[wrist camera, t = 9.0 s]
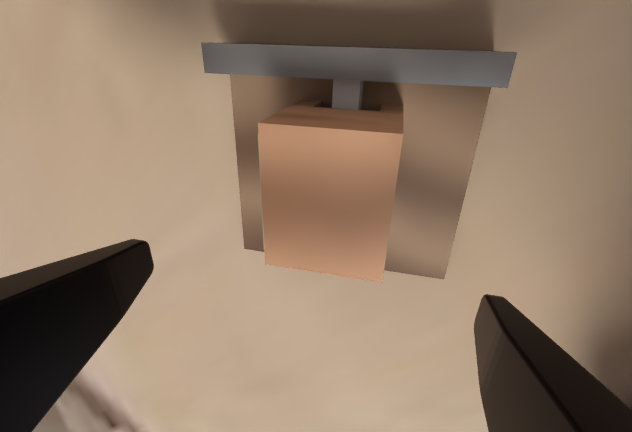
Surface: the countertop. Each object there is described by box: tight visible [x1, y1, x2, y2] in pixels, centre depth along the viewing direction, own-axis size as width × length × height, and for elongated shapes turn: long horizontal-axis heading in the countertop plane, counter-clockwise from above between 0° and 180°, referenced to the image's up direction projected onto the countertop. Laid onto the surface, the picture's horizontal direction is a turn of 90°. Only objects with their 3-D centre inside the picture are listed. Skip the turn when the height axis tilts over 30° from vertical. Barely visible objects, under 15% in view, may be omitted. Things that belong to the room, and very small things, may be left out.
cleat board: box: [201, 43, 517, 279], centre depth 18 cm, size 12×12×4 cm
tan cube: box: [258, 99, 404, 283], centre depth 15 cm, size 6×5×6 cm
